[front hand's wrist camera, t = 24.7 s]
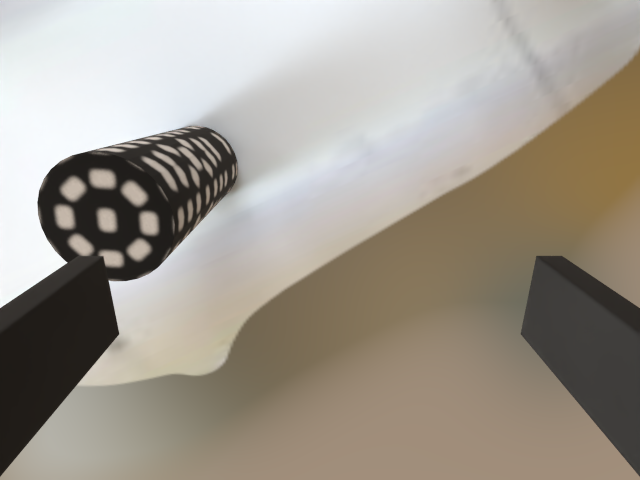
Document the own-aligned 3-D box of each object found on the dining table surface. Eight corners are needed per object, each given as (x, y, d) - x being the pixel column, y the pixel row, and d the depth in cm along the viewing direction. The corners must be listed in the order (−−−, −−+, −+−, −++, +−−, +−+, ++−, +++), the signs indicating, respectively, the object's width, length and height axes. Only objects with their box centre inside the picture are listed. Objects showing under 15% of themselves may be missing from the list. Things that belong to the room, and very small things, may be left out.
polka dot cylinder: (158, 122, 42) (26, 146, 23) (237, 129, 42) (171, 157, 23) (162, 199, 45) (48, 276, 26) (237, 205, 45) (177, 285, 26)
